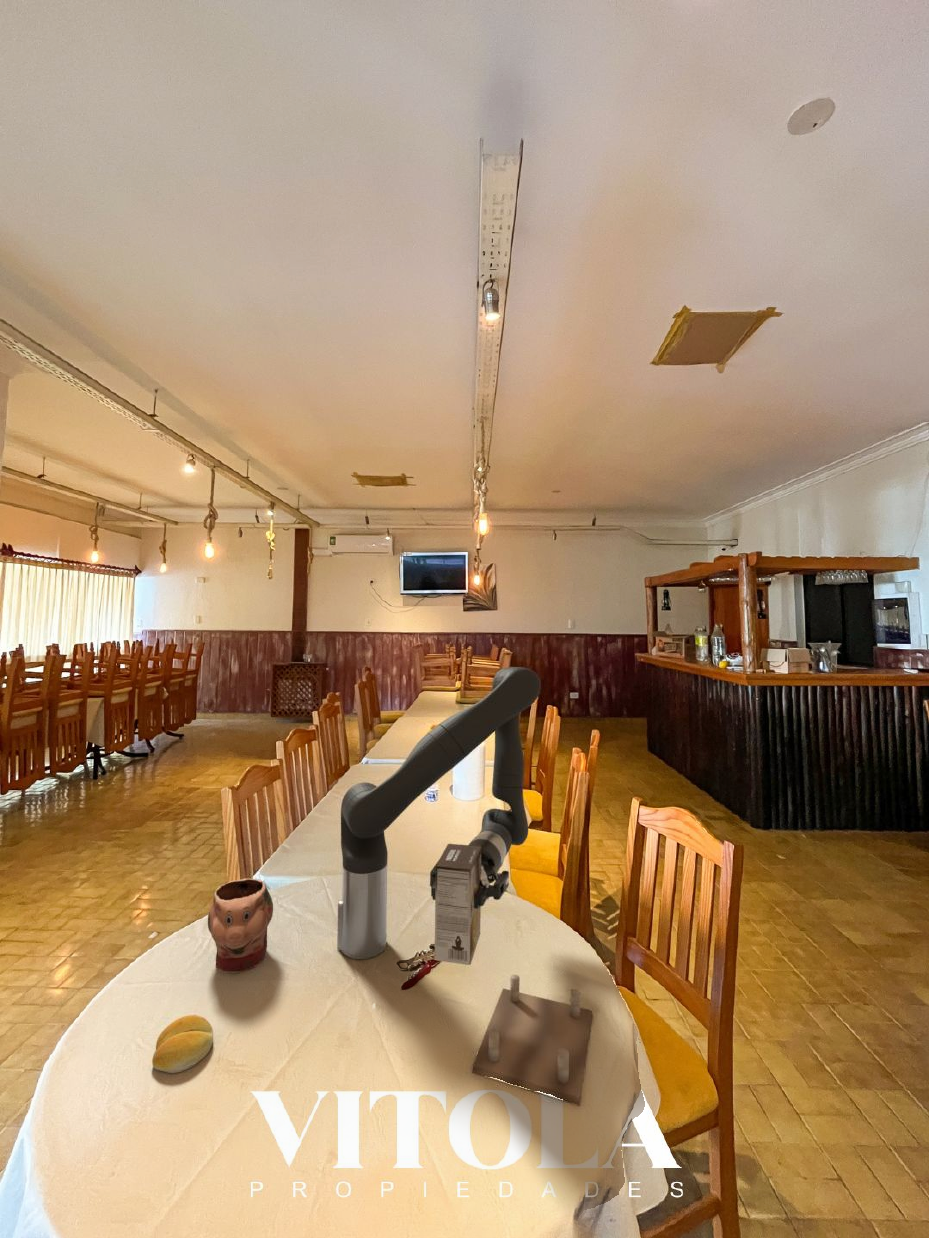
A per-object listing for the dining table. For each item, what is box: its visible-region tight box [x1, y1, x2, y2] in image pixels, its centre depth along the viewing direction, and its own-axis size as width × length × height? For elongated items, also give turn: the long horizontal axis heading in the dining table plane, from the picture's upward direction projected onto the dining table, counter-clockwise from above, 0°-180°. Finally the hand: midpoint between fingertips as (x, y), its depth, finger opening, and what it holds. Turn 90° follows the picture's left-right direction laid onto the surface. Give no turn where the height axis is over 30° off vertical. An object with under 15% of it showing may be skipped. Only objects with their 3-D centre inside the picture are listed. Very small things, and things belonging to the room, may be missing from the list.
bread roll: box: [151, 1014, 214, 1074], centre depth 85 cm, size 8×9×4 cm
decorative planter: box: [207, 877, 274, 973], centre depth 109 cm, size 20×12×14 cm, turn 24°
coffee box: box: [434, 843, 482, 966], centre depth 93 cm, size 9×6×16 cm
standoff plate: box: [472, 974, 593, 1106], centre depth 88 cm, size 16×18×5 cm
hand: (454, 898), depth 91 cm, fingers closed on coffee box, 7 cm apart
